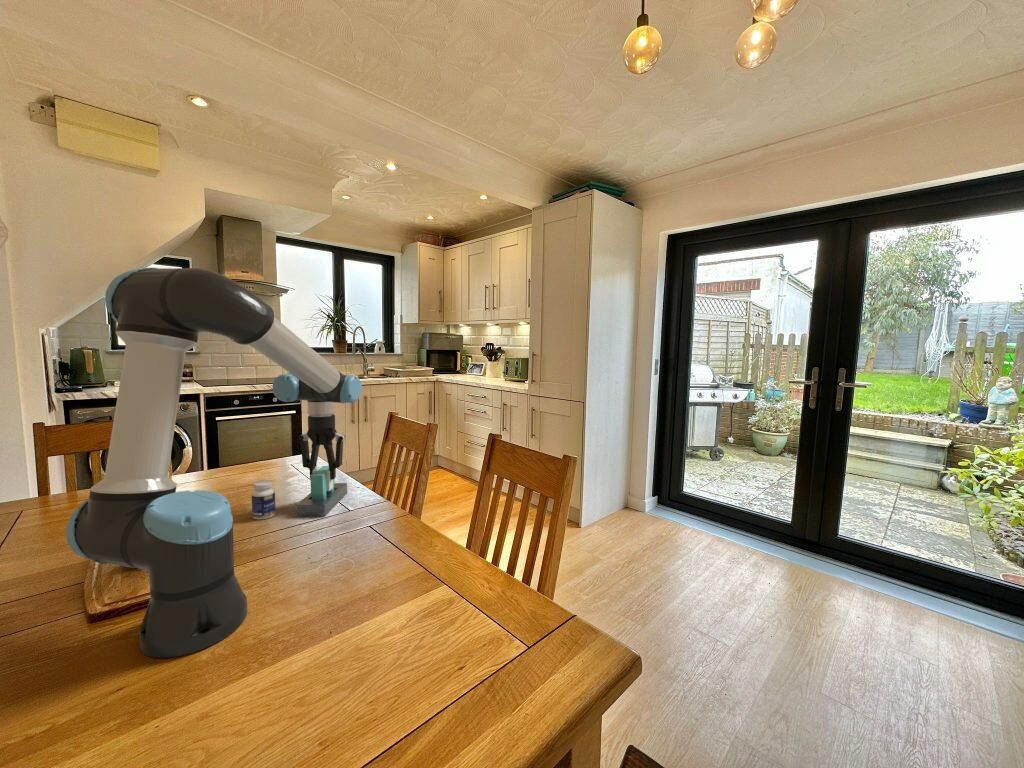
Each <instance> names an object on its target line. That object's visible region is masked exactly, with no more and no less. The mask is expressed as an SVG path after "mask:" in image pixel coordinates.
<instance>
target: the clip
mask: <svg viewBox="0 0 1024 768" xmlns="http://www.w3.org/2000/svg"><path fill="white" fill-rule="evenodd" d="M328 469H329V465H322V466H321V467H320V468H319V469H318V470H317V471H316V472H314V473H313V474H311V475H310V474H309V478H310V477H311V479H310V493H311V495H312V499H327V498H326V492H334V484H335V483H336V481H335V479H336V478H335V479H334V480H333V488H332V489H331V490H330V491H327V470H328Z"/></svg>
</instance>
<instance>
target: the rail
mask: <svg viewBox="0 0 1024 768" xmlns="http://www.w3.org/2000/svg"><path fill="white" fill-rule="evenodd" d="M346 495H348V483H346V482H345V483H344V482H335V484H334V492H326V498H327V499H312V495H311V492H310V493H309V494H307V495H306V496H305V497H304V498H302V500H300V501H299V502H298V503H297V504H295V506H296V507H295V508H296V509H295V512H296V513H295V516H296V517H297V518H298V517H300V518H301V517H303V518H304V517H307V518H311V517H312V518H320V517H321V518H325V517H326V516H327V515H328V514H329V513H330V512H331V511H332V510H333V509H334V508H335V507H336V506H337V505H338V503H340V502H341V500H343V498H344V497H345V496H346Z"/></svg>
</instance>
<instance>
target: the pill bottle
mask: <svg viewBox="0 0 1024 768" xmlns="http://www.w3.org/2000/svg"><path fill="white" fill-rule="evenodd" d="M273 486H274V485H273V480H270V479H264V480H258V481H255V482H253V489H254V490H253V491H252V492H251V516H252V519H254V520H266V519H270V518H272V517H274V515H276V490H275V489H274V488H273Z"/></svg>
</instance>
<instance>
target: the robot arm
mask: <svg viewBox="0 0 1024 768" xmlns="http://www.w3.org/2000/svg"><path fill="white" fill-rule="evenodd" d="M104 303H105V308H106V310H107V312H108V313H110V315H111V319H113V320H114V322H116V323H117V324H116V331H115V334H116V335H117V337H119V338H120V340H121V341H122V342H123V343H124V344H125V348H124V352H123V353H124V354H123V360H122V367H121V373H120V378H119V379H120V380H119V387H118V393H117V398H116V404H115V410H114V416H113V422H112V429H111V434H110V440H109V441H110V442H109V447H108V454H107V458H106V459H107V461H106V465H105V466H106V467H105V473H104V477H103V478H102V479H101V480H100V481H99V482H97V483H95V484H94V485H93V486H91V488H90V490H89V496H88V498H87V499H85V500H84V501H83V502H81V504H80V506H79V507H78V508H75V509H74V510H73V512H72V513H71V515H70V516H69V519H68V521H67V524H66V529H65V539H66V542H67V544H68V546H69V548H70V549H71V550H72V551H73V552H74V553H75V554H76V555H78V556H80V557H81V558H84V559H87V560H90V561H92V562H94V563H98V564H101V565H102V564H103V565H115V566H121V567H126V568H133V569H137V570H138V569H139V570H145V571H147V572H148V579H149V581H148V582H149V592H150V598H149V602H148V604H147V608H146V611H145V614H144V616H143V619H142V622H141V625H140V628H139V632H138V641H139V649H140V651H141V652H142V653H143V654H144V655H145V656H148V657H150V658H154V659H155V658H156V659H171V658H179V657H181V656H186V655H189V654H194V653H196V652H199V651H201V650H203V649H206V648H209V647H211V646H213V645H215V644H217V643H219V642H220V641H222V640H224V639H226V638H227V637H228V636H230V635H231V634H232V633H234V632H235V631H236V630H237V629H239V627H240V626H241V625H242V624H243V623H244V622H245V620H246V618H247V616H248V599H247V596H246V595H245V593H244V592H243V590H242V587H241V584H240V583H239V580H238V578H237V576H236V573H235V565H234V564H235V559H234V556H235V555H234V517H233V514H232V509H231V503H230V502H229V500H228V499H227V497H226V496H224V495H223V494H220V493H218V492H214V491H210V490H199V489H196V490H193V491H190V490H182V491H177V486H178V485H177V483H176V482H175V481H174V480H173V479H172V478H170V477H169V471H170V463H171V462H170V461H171V457H172V449H173V442H174V437H175V436H174V435H175V429H176V422H177V414H178V409H179V401H180V394H181V386H182V380H183V373H184V366H185V360H186V353H187V352H188V351H189V350H191V349H193V348H195V347H196V346H197V345H198V339H199V333H201V332H206V333H211V334H214V335H216V334H217V335H221V336H223V337H226V338H228V339H230V340H232V341H233V342H235V343H236V344H238V345H242V346H250V347H251V348H253V349H254V350H256V351H257V352H259V353H260V354H261V355H263V356H264V357H266V358H267V359H269V360H270V361H272V362H273V363H275V364H276V365H278V366H279V367H281V368H282V369H284V371H286V373H282V374H280V375H278V376H276V378H274V380H273V382H272V392H273V395H274V396H275V397H276V398H277V399H278V401H280V402H283V403H284V402H287V403H288V402H290V403H291V402H295V401H306V402H307V414H308V416H307V428H308V429H307V432H306V433H303V434H301V435H299V436H298V437H297V439H298V441H299V443H300V451H301V461H302V462H301V463H302V467H303V468H307V469H308V470H309V480H311V477H310V475H311V474H313V473H314V472H316V471H317V470H318V469H320V468H319V467H318V457H319V451H320V447H321V446H323V448H324V449H325V455H326V458H327V464H328V465H327V466H329V469H328V470H327V491H330V490H331V489H332V488H333V480H334V479H336V477H337V475H336V474H337V473H336V472H337V469H339V468H340V467H341V466H342V465H343V452H344V442H345V440H346V435H345V434H342V435H341V434H340V433H338V432H337V430H336V415H335V413H336V404H335V403H339V404H353V403H356V402H357V401H358V400H359V399H360V398H361V395H362V392H363V391H362V390H363V385H362V382H361V380H360V378H359V377H358V376H357V375H351V374H343V373H342V372H341V371H340V370H338V368H336V367H335V366H334V365H333V364H332V363H330V362H329V361H327V360H326V359H325V358H324V357H323V356H321V355H320V354H319V353H318V352H317V351H316V350H314V349H313V348H312V347H311V346H309V345H308V344H307V343H306V342H305V341H303V339H302V338H300V337H299V336H298V335H296V333H294V332H293V331H292V330H290V329H289V328H288V327H287V326H286V325H285V324H284V323H282V322H281V321H280V320H278V319H277V318H276V313H275V310H274V309H273V308H272V307H271V306H270V305H269V304H268V303H266V301H264V300H263V299H261V298H260V297H259V296H258V295H256V294H255V293H254V292H253V291H251V290H250V289H248V288H246V287H245V286H244V285H242V284H240V283H239V282H237V281H235V280H233V279H231V278H229V277H227V276H226V275H224V274H221V273H219V272H217V271H214V270H209V269H206V268H200V267H187V268H181V267H180V268H175V267H174V268H158V267H144V268H137V269H131V270H128V271H124V272H123V273H120V274H118V275H116V277H115V278H113V279H112V280H111V282H110V283H109V284H108V286H107V287H106V290H105V294H104ZM334 439H335V442H336V444H335V453H334V447H333V440H334ZM309 440H310V441H311V453H310V447H309V446H310V445H309V443H310V442H309Z"/></svg>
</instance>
